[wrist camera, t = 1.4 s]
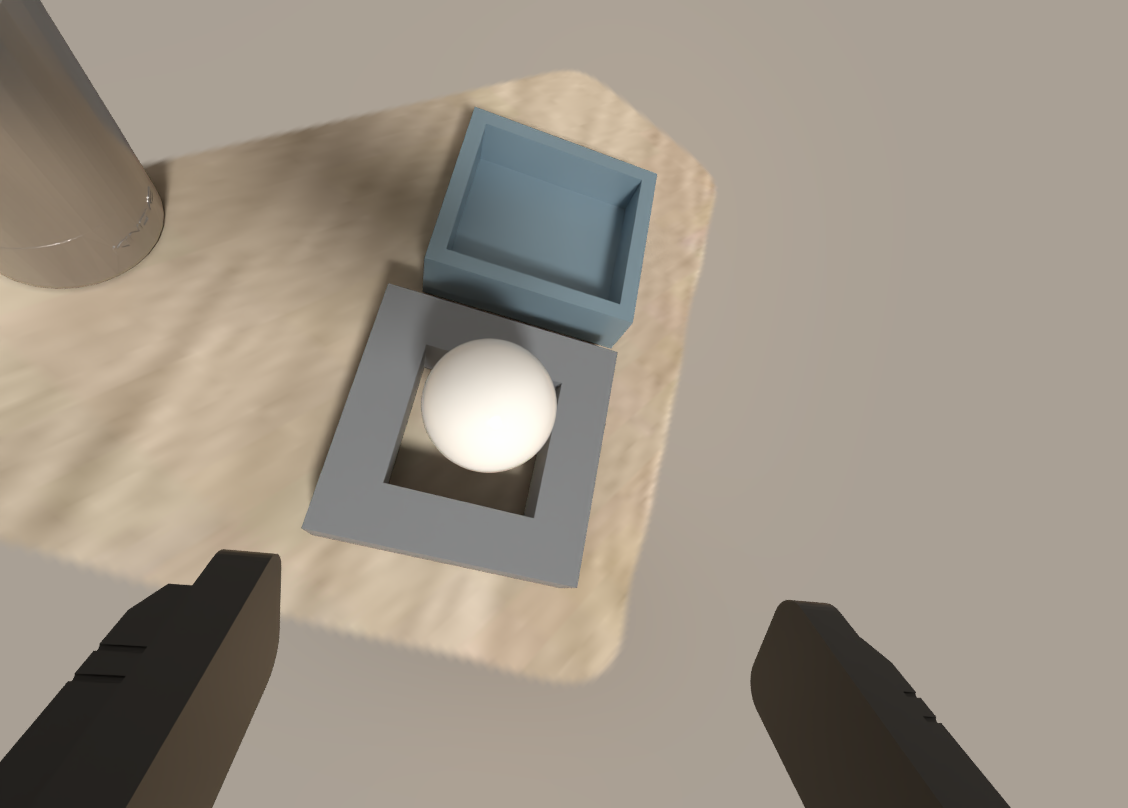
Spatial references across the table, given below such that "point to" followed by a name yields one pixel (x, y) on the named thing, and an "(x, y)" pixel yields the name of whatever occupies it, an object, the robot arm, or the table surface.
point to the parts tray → (541, 231)
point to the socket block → (442, 525)
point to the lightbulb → (489, 405)
